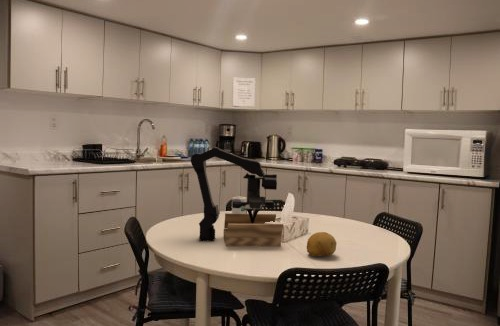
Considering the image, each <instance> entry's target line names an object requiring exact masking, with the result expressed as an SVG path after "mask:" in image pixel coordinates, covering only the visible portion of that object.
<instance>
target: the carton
mask: <svg viewBox="0 0 500 326" xmlns="http://www.w3.org/2000/svg"><path fill="white" fill-rule="evenodd" d="M227 229H228V228H223V240H224V243H225V247H281V246H282V245H281V244H282V237H281V238H227Z"/></svg>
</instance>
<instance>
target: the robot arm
mask: <svg viewBox="0 0 500 326" xmlns="http://www.w3.org/2000/svg"><path fill="white" fill-rule="evenodd" d="M215 157H216V158H218V159H220V160H223V161H226V162H229V163H231V164H234V165H236V166H238V167H240V168H242V169H244V170H245V171H247V172H246V174H245V175H244V176H243V178H242V179H247V182H246V183H247V184H246V186H247V187H246V197H247V202H241V200H232V199H231V209H232V208H241V207H242V206H244V209H245V210H247V214H249V217H250V221H251V223H252V224H253V223H254V220H255V218H256V215H257V214H259V212H260V211H262V207H265V208H266V209H267V210H269V209H270V210H273V209H275V202H274V201H273V200H269V199H267V200H266V196H261V187H262V188H263V189H264V190H270V191H272V190H273V191H276V190H277V189H278V186H277V185H278V184H277V183H278V181H277V177H278V175H277V174H274V173H273V174H268V173H265V172H264V170H263V168H262V164H261V162H260V161H259V160H257V159H253V158H245V157H242V156H240V155H237V154H234V153H232V152H229V151H227V150H223V149H222V148H220V147H218V146H215V147H213V148H211V149H209V150H207V151H204V152H196V153H194V154H192V155H191V157H190V164H191V166H192V168H193V170H194V171H195V172H194V173H196V177H197V181H198V185H199V190H200V193H201V198H202V202H203V218H202V219H201V220H200V221H199V223H198V225H199V236H198V239H199V242H214V241H215V240H216V228H215V226H214V224H215V223H216V222H217V221H218V220H219V217H220V214H221V212H220V210H219V205H218V204H216V205H215V203H214V201H213V196H212V192H211V188H210V184H209V179H208V176H207V175H208V174H207V161H209V160H210V159H212V158H215ZM252 214H253V216H252Z"/></svg>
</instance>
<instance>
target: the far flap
mask: <svg viewBox="0 0 500 326" xmlns="http://www.w3.org/2000/svg"><path fill="white" fill-rule="evenodd" d="M252 216H253V213H252ZM276 219H277V214H276V213H257V215H256V218H255V220H254V223H253V224H264V223H265V222H270V221H273V222H275V223H276ZM228 224H252V223H251V221H250V217H249V214H248V213H247V214H236V213H232V212H231V213H226V212H225V213H224V223H223V229H228Z"/></svg>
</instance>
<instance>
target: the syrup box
mask: <svg viewBox="0 0 500 326" xmlns="http://www.w3.org/2000/svg"><path fill="white" fill-rule="evenodd" d="M232 200H241V202H247V196H240V195H239V196H234V197H232V199H231V201H232ZM231 213H236V214H248V211H247V210H245V209H244V206H242V207H241V208H232V207H231Z"/></svg>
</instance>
